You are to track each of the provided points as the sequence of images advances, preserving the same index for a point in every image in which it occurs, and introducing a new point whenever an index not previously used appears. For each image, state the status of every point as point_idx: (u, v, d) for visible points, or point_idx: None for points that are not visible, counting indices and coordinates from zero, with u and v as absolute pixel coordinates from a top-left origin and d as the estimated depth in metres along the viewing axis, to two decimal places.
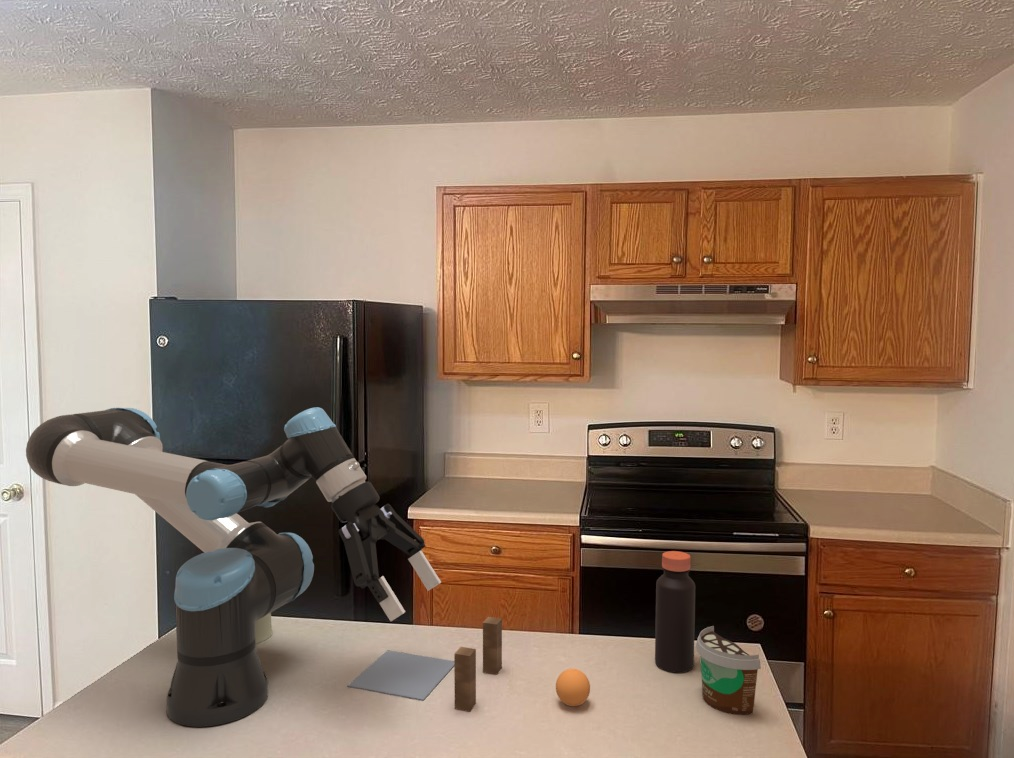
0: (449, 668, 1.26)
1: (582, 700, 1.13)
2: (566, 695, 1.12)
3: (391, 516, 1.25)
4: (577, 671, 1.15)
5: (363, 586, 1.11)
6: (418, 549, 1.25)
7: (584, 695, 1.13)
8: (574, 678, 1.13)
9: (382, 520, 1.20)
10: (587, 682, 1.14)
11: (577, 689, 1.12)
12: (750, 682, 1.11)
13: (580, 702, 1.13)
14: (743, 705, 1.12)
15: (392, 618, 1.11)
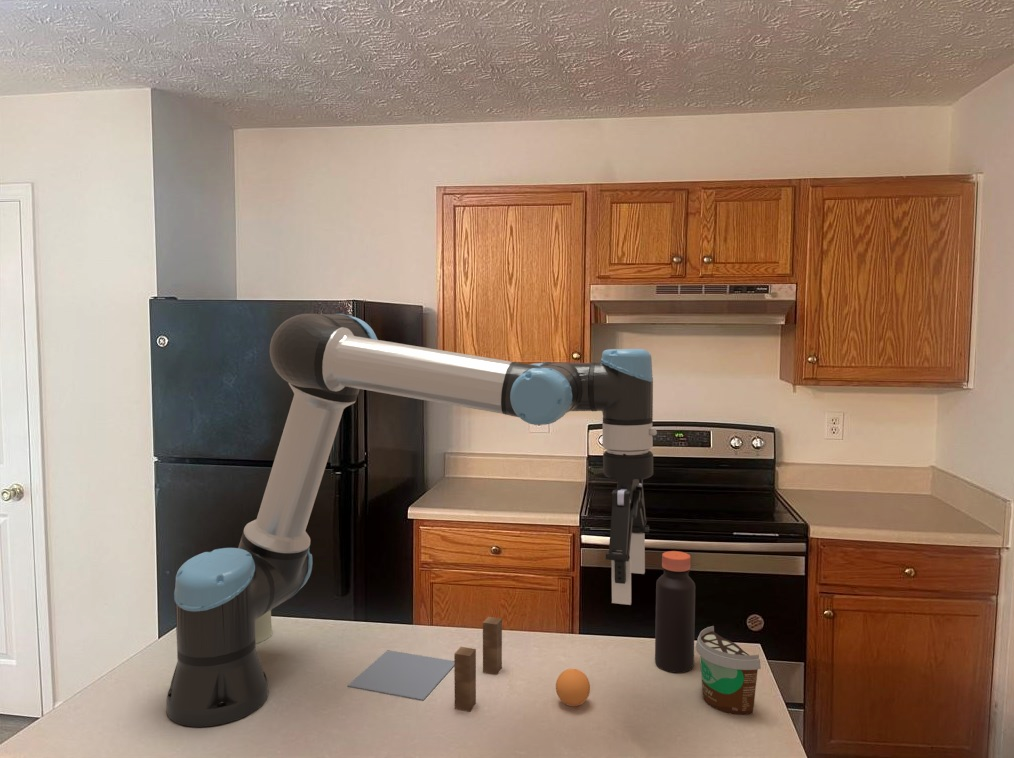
0: (449, 668, 1.26)
1: (582, 700, 1.13)
2: (566, 695, 1.12)
3: None
4: (577, 671, 1.15)
5: (609, 558, 1.03)
6: (641, 530, 1.17)
7: (584, 695, 1.13)
8: (574, 678, 1.13)
9: (641, 495, 1.10)
10: (587, 682, 1.14)
11: (577, 689, 1.12)
12: (750, 682, 1.11)
13: (580, 702, 1.13)
14: (743, 705, 1.12)
15: (615, 601, 1.04)
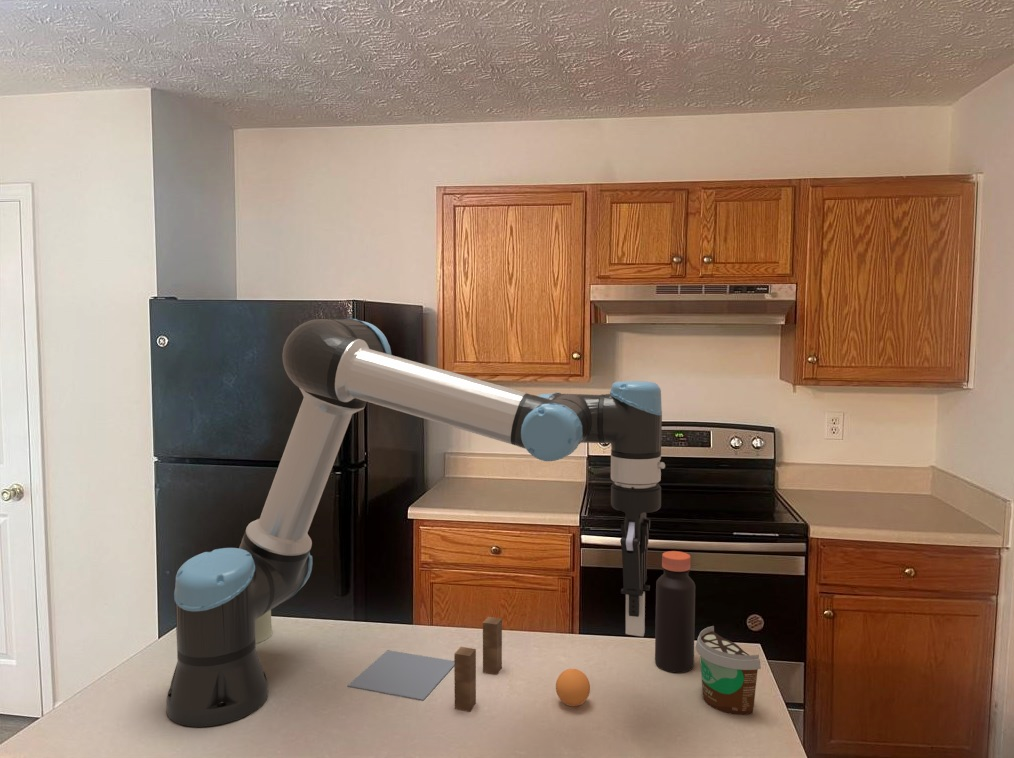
0: (449, 668, 1.26)
1: (582, 700, 1.13)
2: (566, 695, 1.12)
3: None
4: (577, 671, 1.15)
5: (624, 593, 1.10)
6: (642, 586, 1.11)
7: (584, 695, 1.13)
8: (574, 678, 1.13)
9: (648, 526, 1.10)
10: (587, 682, 1.14)
11: (577, 689, 1.12)
12: (750, 682, 1.11)
13: (580, 702, 1.13)
14: (743, 705, 1.12)
15: (629, 633, 1.10)
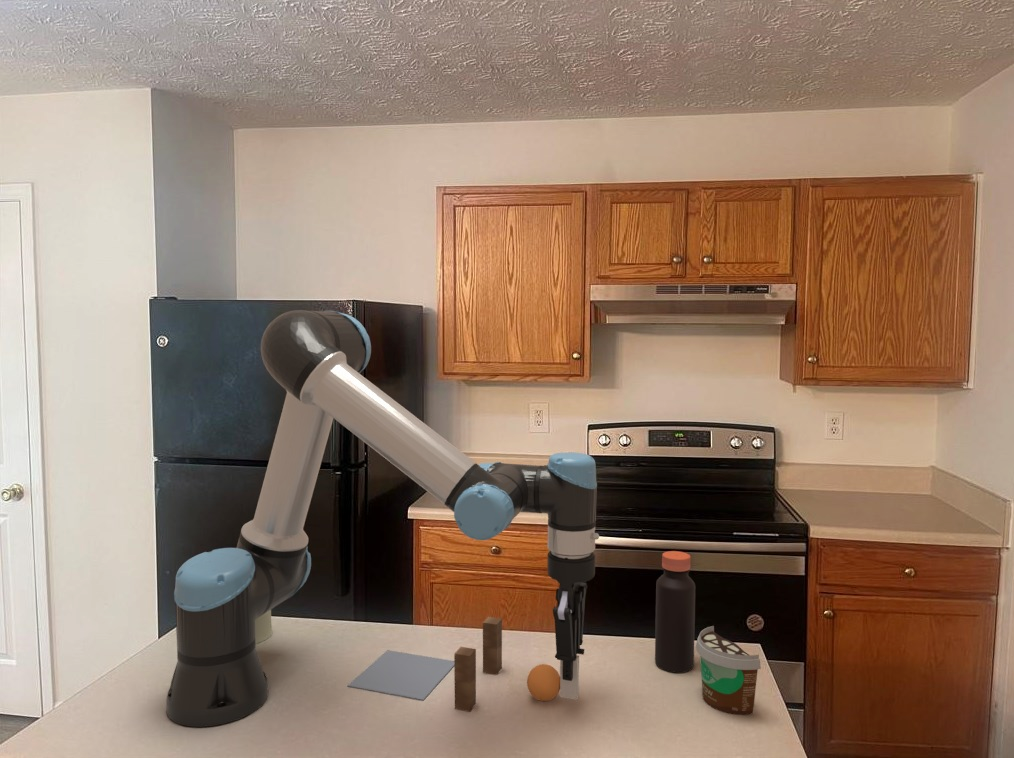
0: (449, 668, 1.26)
1: (549, 678, 1.14)
2: (539, 692, 1.14)
3: None
4: None
5: None
6: (576, 651, 1.15)
7: (545, 674, 1.15)
8: (528, 678, 1.16)
9: (582, 593, 1.14)
10: (539, 666, 1.16)
11: (536, 680, 1.14)
12: (750, 682, 1.11)
13: (551, 681, 1.14)
14: (743, 705, 1.12)
15: (563, 695, 1.15)
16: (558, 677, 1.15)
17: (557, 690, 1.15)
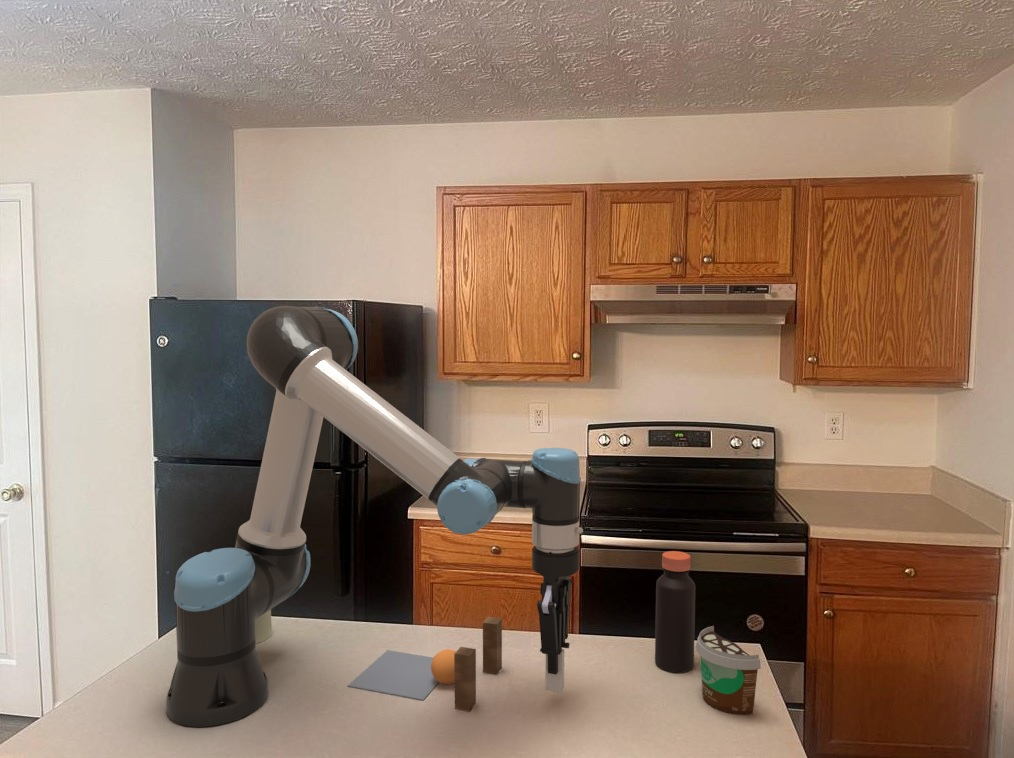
0: None
1: (452, 663, 1.20)
2: (440, 676, 1.19)
3: None
4: (435, 655, 1.22)
5: None
6: (561, 644, 1.16)
7: (448, 659, 1.20)
8: (433, 661, 1.21)
9: (567, 587, 1.15)
10: (444, 651, 1.21)
11: (439, 663, 1.20)
12: (750, 682, 1.11)
13: (453, 666, 1.19)
14: (743, 705, 1.12)
15: (548, 689, 1.15)
16: None
17: None
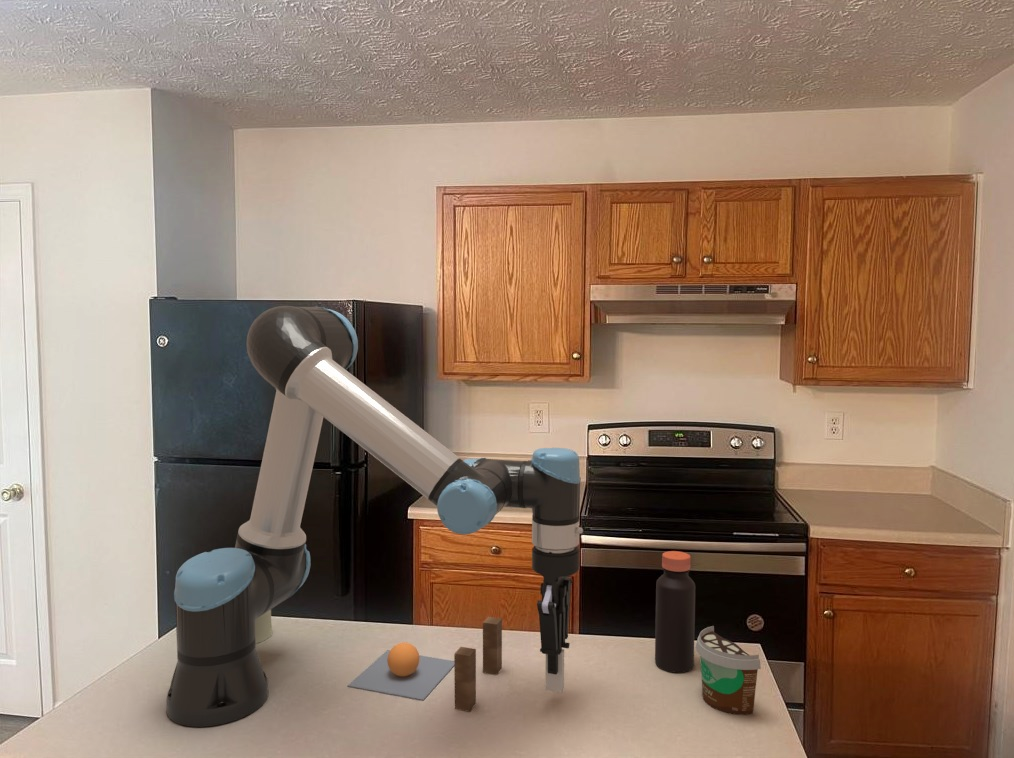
0: (449, 668, 1.26)
1: None
2: (396, 664, 1.22)
3: None
4: (414, 670, 1.24)
5: None
6: (561, 644, 1.16)
7: None
8: (409, 673, 1.22)
9: (567, 587, 1.15)
10: None
11: (399, 674, 1.22)
12: (750, 682, 1.11)
13: None
14: (743, 705, 1.12)
15: (548, 689, 1.15)
16: None
17: None
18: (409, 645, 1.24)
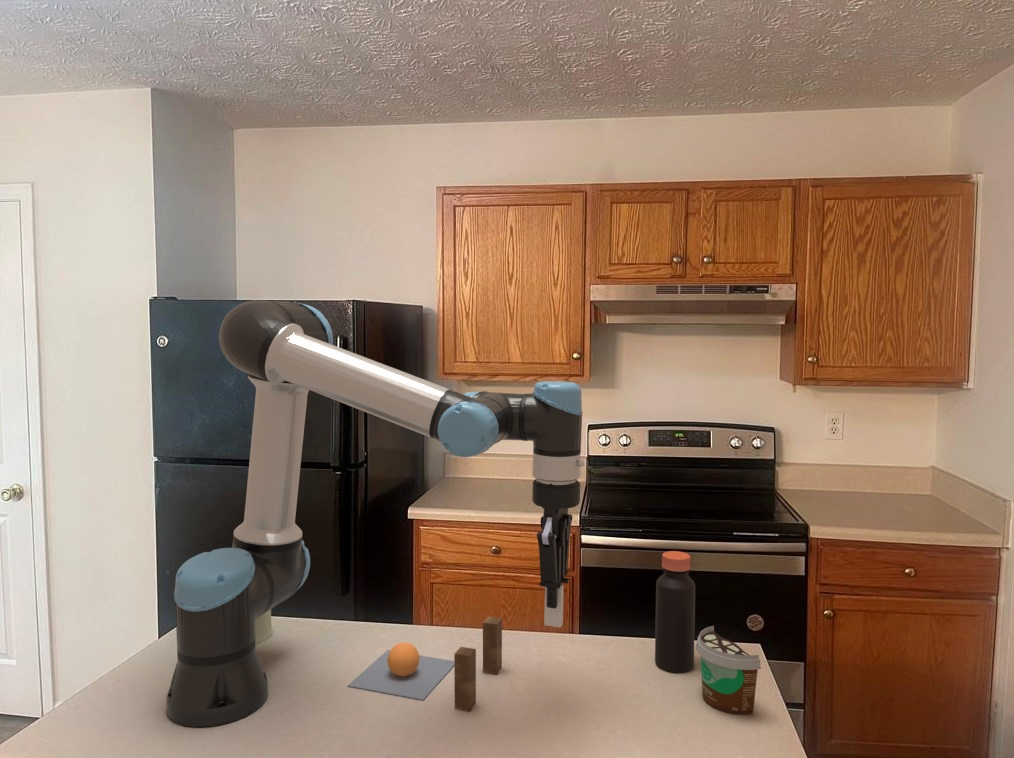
0: (449, 668, 1.26)
1: None
2: (396, 664, 1.22)
3: None
4: (414, 670, 1.24)
5: None
6: (561, 579, 1.15)
7: None
8: (409, 673, 1.22)
9: (567, 521, 1.14)
10: None
11: (399, 674, 1.22)
12: (750, 682, 1.11)
13: None
14: (743, 705, 1.12)
15: (547, 624, 1.15)
16: None
17: None
18: (409, 645, 1.24)
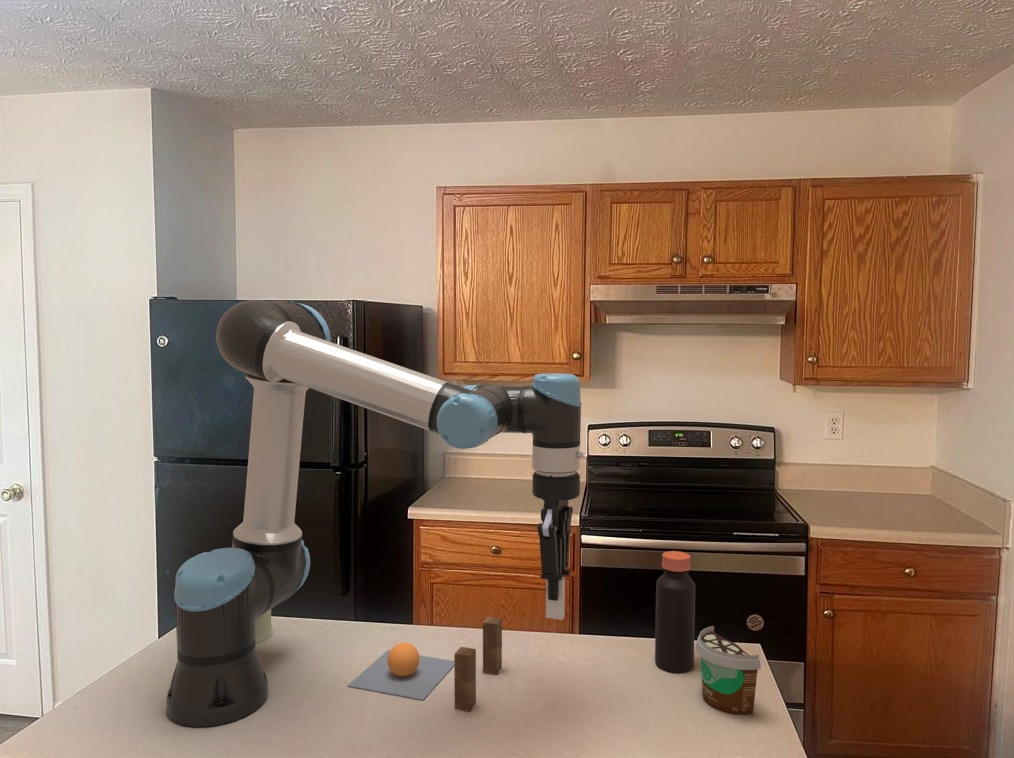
0: (449, 668, 1.26)
1: None
2: (396, 664, 1.22)
3: None
4: (414, 670, 1.24)
5: None
6: (562, 572, 1.15)
7: None
8: (409, 673, 1.22)
9: (568, 513, 1.14)
10: None
11: (399, 674, 1.22)
12: (750, 682, 1.11)
13: None
14: (743, 705, 1.12)
15: (549, 616, 1.15)
16: None
17: None
18: (409, 645, 1.24)
